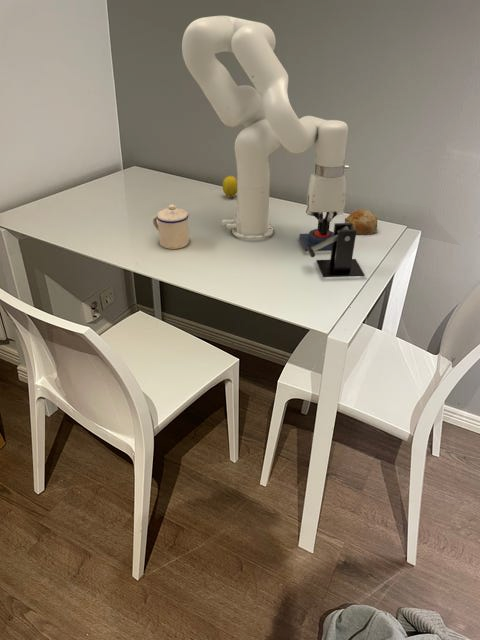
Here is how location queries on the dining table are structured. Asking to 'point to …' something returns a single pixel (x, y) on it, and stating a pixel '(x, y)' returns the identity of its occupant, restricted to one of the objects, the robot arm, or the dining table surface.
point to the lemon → (230, 186)
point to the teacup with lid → (172, 227)
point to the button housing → (315, 240)
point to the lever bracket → (341, 255)
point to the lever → (323, 243)
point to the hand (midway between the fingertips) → (322, 233)
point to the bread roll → (362, 222)
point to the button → (320, 234)
